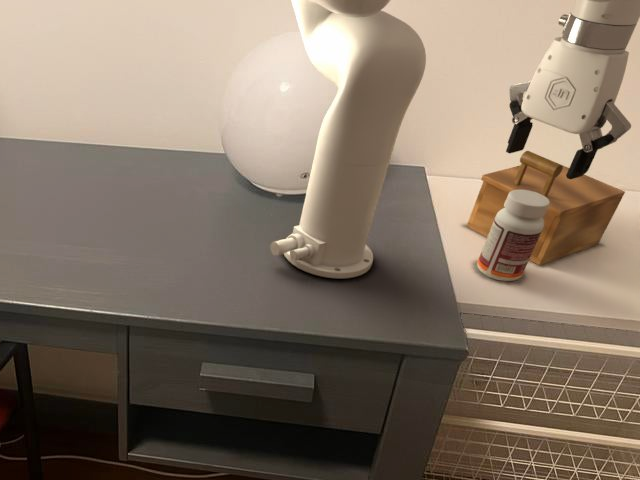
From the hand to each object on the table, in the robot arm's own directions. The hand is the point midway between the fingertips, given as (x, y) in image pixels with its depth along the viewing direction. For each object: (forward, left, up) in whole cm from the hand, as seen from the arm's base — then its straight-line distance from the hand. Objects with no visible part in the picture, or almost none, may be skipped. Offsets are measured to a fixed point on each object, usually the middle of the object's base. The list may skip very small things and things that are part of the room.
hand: (543, 163), depth 104 cm
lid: (+5, 0, -5) cm, 7 cm away
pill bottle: (-9, -5, -13) cm, 16 cm away
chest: (+6, 0, -13) cm, 14 cm away
